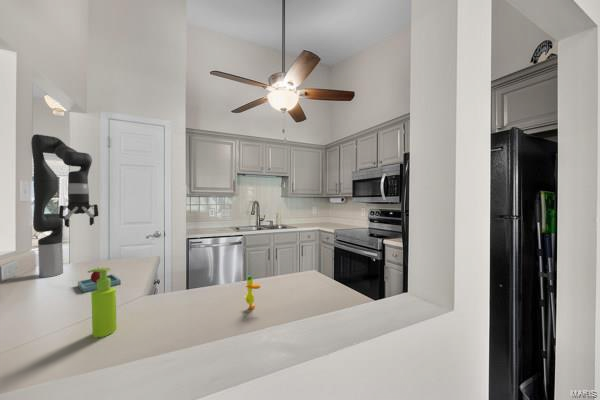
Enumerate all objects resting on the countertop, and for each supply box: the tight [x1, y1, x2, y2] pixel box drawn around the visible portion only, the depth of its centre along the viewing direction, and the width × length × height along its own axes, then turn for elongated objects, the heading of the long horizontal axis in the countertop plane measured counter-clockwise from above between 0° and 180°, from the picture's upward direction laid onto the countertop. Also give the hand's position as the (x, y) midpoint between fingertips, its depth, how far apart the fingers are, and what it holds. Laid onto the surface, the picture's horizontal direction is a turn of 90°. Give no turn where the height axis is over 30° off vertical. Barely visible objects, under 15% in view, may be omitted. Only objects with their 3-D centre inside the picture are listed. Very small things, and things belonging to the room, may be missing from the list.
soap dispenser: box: [87, 267, 118, 339], centre depth 76 cm, size 6×7×20 cm
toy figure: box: [243, 275, 261, 310], centre depth 92 cm, size 7×4×12 cm, turn 77°
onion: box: [90, 267, 100, 284], centre depth 117 cm, size 6×6×8 cm
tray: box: [77, 273, 122, 294], centre depth 117 cm, size 14×14×2 cm
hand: (79, 226), depth 120 cm, fingers open, 8 cm apart
